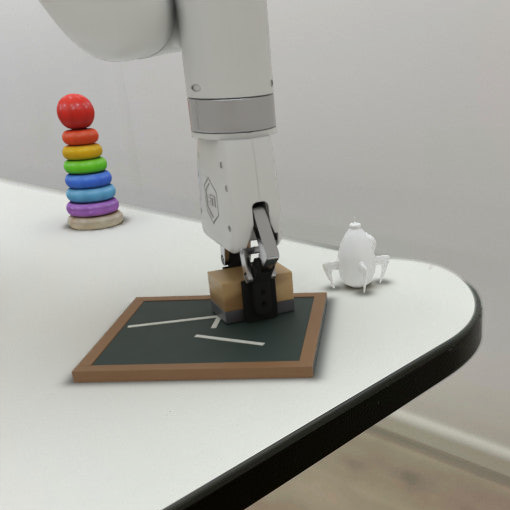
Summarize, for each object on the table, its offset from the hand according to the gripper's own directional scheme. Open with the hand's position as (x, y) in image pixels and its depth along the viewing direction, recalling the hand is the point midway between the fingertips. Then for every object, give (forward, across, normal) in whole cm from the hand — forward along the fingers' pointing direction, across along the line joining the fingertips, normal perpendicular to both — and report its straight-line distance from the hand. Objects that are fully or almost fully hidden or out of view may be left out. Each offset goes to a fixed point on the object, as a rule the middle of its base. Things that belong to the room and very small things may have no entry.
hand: (251, 309), depth 75 cm
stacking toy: (+2, -51, -6) cm, 51 cm away
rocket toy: (+2, -4, +14) cm, 14 cm away
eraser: (0, 0, 0) cm, 0 cm away
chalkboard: (+1, +2, -5) cm, 5 cm away
